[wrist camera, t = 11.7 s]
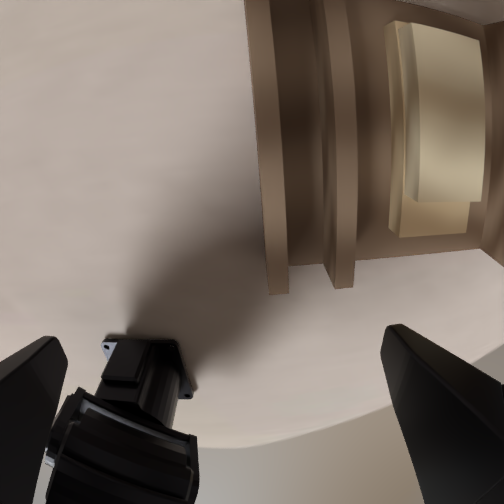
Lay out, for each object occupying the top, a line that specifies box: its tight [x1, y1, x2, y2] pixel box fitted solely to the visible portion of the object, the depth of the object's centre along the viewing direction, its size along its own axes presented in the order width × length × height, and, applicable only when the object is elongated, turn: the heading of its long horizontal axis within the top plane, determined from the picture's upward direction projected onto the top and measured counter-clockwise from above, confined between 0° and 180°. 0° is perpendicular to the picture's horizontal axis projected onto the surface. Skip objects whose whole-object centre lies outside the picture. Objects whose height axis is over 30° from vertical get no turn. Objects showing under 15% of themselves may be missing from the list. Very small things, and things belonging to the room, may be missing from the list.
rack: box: [244, 0, 504, 295], centre depth 14 cm, size 16×20×4 cm
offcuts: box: [383, 21, 485, 238], centre depth 14 cm, size 12×5×3 cm, turn 5°
